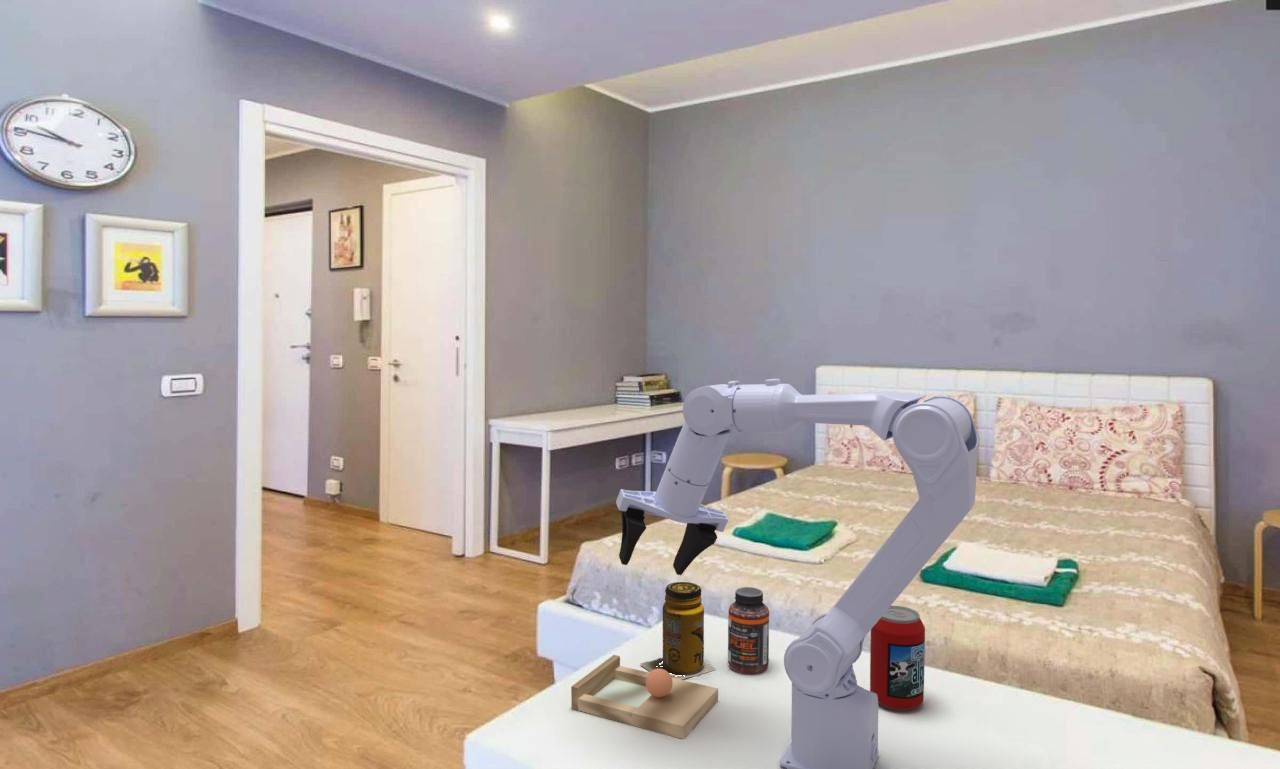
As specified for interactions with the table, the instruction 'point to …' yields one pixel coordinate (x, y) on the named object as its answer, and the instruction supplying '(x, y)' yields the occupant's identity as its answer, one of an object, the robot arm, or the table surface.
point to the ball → (659, 683)
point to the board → (641, 699)
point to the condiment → (682, 632)
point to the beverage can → (898, 659)
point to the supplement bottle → (748, 632)
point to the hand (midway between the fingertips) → (650, 565)
